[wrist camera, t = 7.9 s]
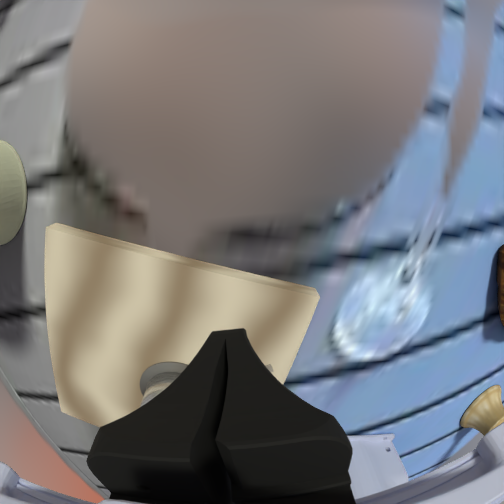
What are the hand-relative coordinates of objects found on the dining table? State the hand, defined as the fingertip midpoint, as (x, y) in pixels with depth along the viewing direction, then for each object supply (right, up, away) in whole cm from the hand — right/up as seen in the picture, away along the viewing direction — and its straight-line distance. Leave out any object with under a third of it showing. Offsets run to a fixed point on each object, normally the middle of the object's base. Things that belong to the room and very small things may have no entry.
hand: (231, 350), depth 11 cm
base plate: (-7, -6, +11) cm, 14 cm away
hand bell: (+35, -19, +18) cm, 43 cm away
